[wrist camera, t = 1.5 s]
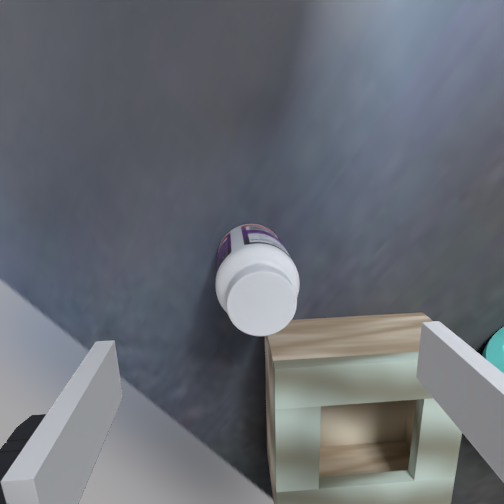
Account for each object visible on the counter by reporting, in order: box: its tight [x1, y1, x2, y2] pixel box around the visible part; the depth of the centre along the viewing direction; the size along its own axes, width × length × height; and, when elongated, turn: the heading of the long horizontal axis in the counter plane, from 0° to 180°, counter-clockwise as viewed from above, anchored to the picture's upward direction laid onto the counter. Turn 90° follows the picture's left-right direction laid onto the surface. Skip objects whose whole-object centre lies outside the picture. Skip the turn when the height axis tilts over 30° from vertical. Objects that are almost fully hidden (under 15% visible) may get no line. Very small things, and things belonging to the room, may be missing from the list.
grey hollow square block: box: [265, 312, 462, 504], centre depth 30 cm, size 14×14×7 cm
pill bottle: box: [215, 224, 300, 336], centre depth 25 cm, size 5×5×10 cm
